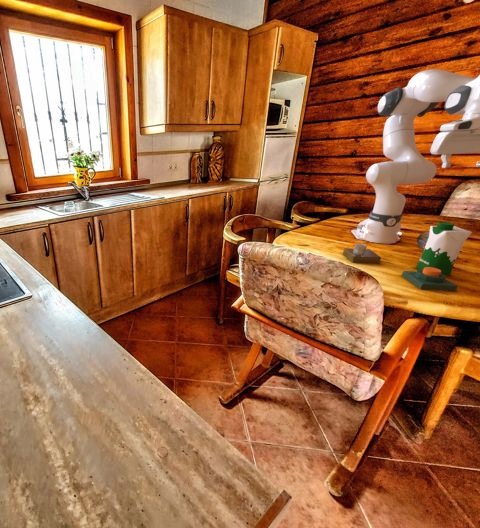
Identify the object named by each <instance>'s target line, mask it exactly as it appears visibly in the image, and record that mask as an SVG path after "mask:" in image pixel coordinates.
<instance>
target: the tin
mask: <svg viewBox="0 0 480 528" xmlns="http://www.w3.org/2000/svg"><path fill="white" fill-rule="evenodd" d="M429 233H430V231H424V232H421V233H420V234H418V236H417V238H416V243H417V246H418V247H419V248H420V249H423V250H424V248H425V246H426V243H427V241H428V238H429Z"/></svg>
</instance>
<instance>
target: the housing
mask: <svg viewBox="0 0 480 528" xmlns="http://www.w3.org/2000/svg"><path fill="white" fill-rule="evenodd" d="M422 272H423V269H420V270H418V269H416V270H403V271H402V273H401V277H402V278H404V279H406V280H407V281H408V282H410V283H411V284H413V285H414V286H415V287H417V288H418V289H419V290H428V291H429V290H430V291H444V292H445V291H446V292H456V291H457V290H458V289H457V288H458V284H456V283H454V282H452V281H450V280H449V279H447V278H446V276H445V275H444V274H442V273H440V276H439V277H436V276H429V275H426V274H423V273H422Z"/></svg>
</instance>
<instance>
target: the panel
mask: <svg viewBox="0 0 480 528" xmlns="http://www.w3.org/2000/svg"><path fill="white" fill-rule="evenodd" d="M353 251H354V248H347V247H346V248H344V249H343V252H342V255H343V256H344V257H345V258H347V259H348V260H349V261H350V262H351V263H356V264H380V263H381V260H382V256H380V255H379V254H377V253H376V252H374V251H372V250H371V249H370V248H366V250H365V254H364V255H356V254H354V253H353Z"/></svg>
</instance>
